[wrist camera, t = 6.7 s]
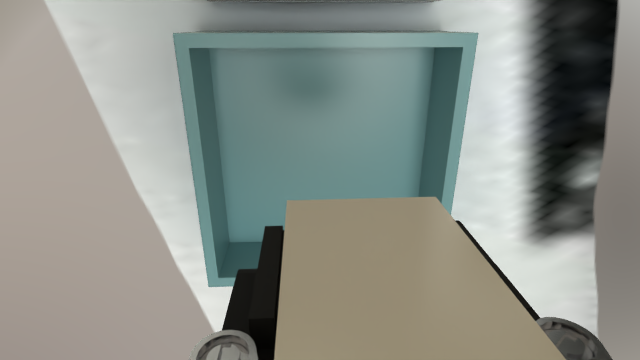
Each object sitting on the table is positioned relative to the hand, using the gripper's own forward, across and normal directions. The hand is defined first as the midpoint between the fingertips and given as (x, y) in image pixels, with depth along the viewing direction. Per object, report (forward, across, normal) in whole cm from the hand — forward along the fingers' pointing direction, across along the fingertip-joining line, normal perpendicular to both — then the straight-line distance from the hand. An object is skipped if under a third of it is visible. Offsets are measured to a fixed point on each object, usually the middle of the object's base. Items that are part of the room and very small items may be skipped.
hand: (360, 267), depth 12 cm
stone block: (0, 0, 0) cm, 0 cm away
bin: (+20, 0, +2) cm, 20 cm away
